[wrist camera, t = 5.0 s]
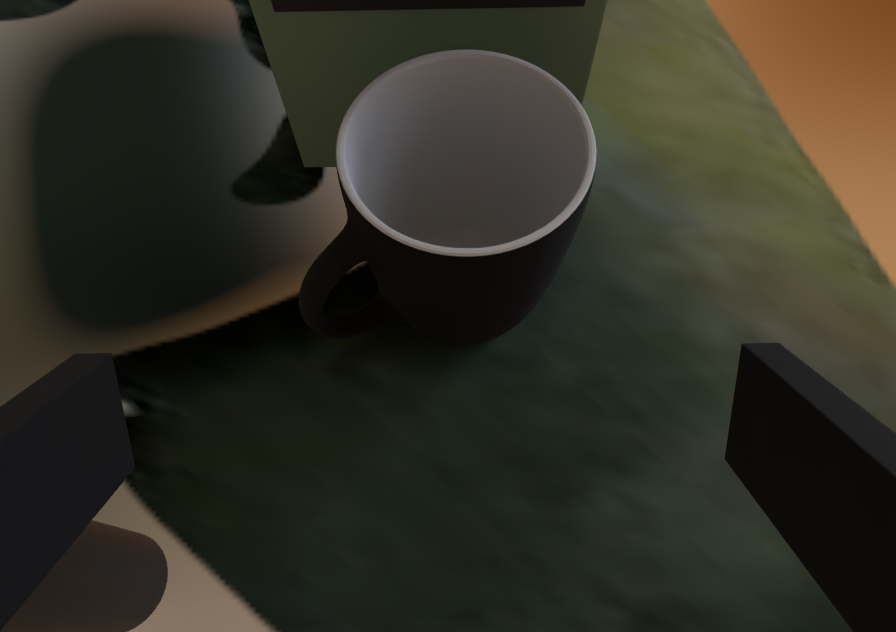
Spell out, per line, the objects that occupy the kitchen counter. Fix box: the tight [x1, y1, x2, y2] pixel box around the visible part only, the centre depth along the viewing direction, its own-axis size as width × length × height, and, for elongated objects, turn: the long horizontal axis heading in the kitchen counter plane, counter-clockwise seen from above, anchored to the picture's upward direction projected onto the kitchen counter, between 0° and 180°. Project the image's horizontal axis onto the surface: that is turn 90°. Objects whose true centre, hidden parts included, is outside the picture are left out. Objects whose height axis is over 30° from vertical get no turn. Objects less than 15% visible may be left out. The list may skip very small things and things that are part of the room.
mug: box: [299, 50, 596, 344], centre depth 26 cm, size 12×9×10 cm
